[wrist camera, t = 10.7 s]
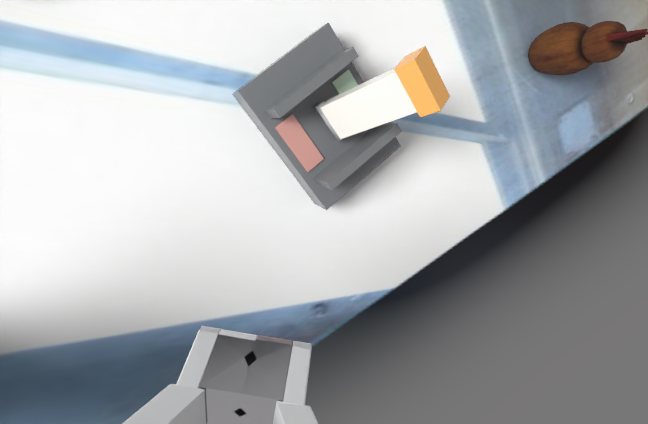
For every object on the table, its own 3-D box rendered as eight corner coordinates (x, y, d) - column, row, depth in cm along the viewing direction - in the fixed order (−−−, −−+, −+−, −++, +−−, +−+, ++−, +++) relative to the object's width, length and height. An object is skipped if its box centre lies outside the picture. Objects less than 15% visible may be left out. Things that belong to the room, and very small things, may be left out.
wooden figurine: (515, 63, 54) (630, 42, 40) (531, 24, 54) (653, -10, 40) (543, 83, 57) (660, 70, 43) (559, 47, 56) (682, 22, 43)
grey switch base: (314, 203, 47) (340, 217, 40) (232, 94, 41) (245, 87, 33) (383, 144, 49) (420, 147, 42) (315, 31, 43) (344, 11, 35)
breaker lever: (333, 146, 41) (440, 110, 31) (308, 109, 39) (414, 59, 29) (344, 134, 42) (449, 96, 33) (320, 98, 40) (425, 46, 31)
